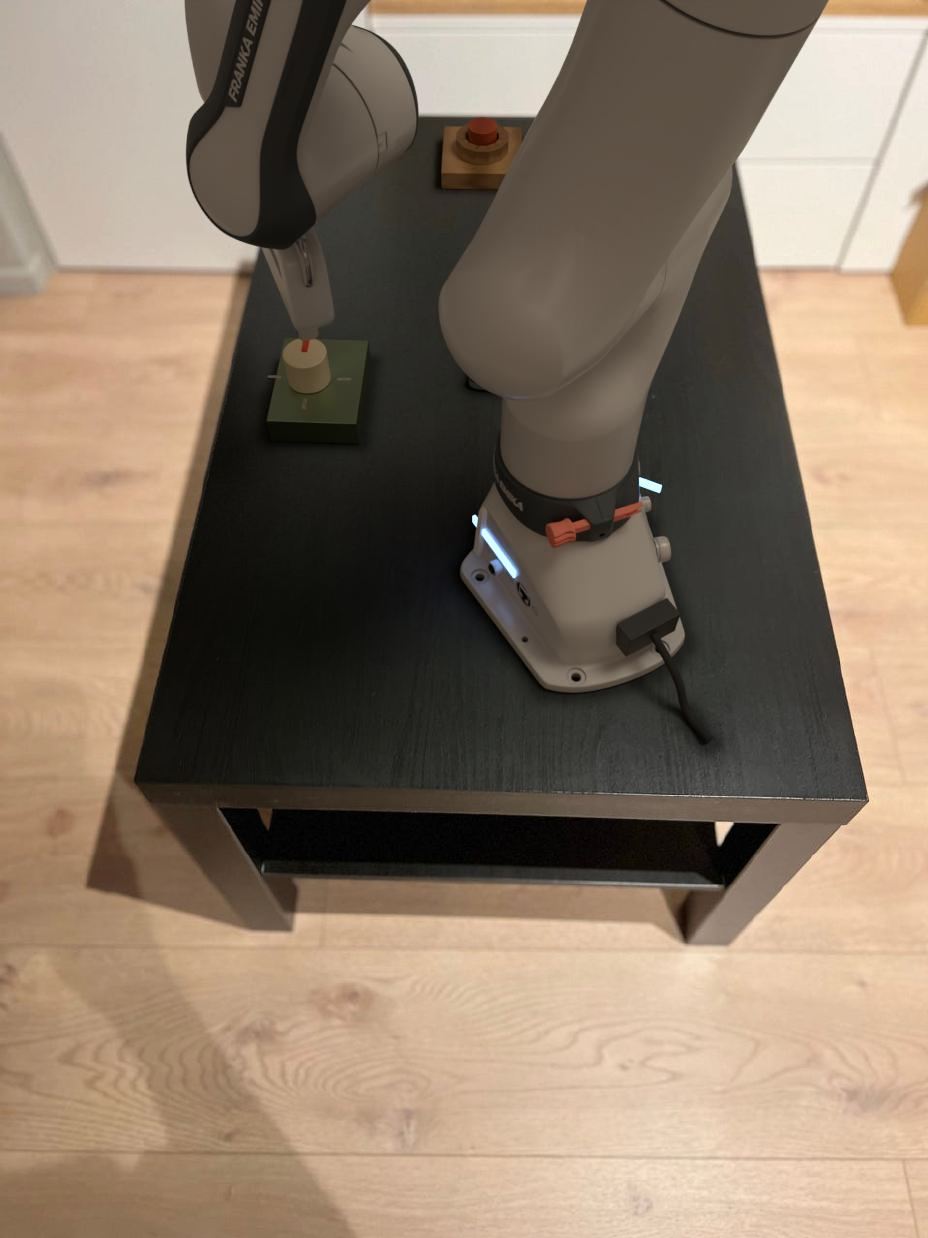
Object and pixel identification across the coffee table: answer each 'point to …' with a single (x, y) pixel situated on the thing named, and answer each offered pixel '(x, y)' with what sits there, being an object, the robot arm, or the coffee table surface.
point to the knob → (306, 365)
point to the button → (482, 131)
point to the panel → (323, 398)
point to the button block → (477, 158)
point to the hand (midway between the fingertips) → (294, 302)
